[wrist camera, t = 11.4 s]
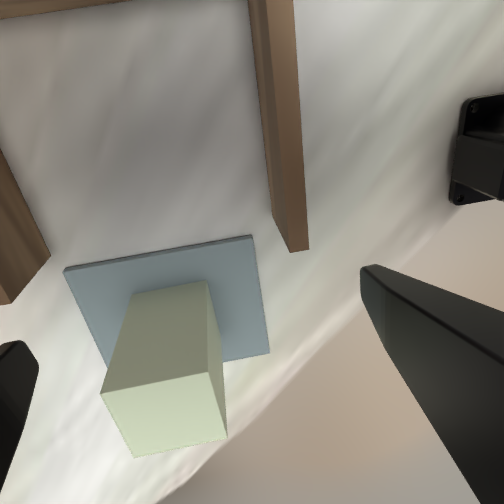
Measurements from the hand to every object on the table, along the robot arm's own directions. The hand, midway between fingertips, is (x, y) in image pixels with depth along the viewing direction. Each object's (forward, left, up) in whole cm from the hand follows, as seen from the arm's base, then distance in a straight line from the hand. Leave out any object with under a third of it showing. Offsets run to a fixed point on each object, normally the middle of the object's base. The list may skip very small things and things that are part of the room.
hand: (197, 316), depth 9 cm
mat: (+4, +9, -13) cm, 16 cm away
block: (+3, +9, -12) cm, 16 cm away
